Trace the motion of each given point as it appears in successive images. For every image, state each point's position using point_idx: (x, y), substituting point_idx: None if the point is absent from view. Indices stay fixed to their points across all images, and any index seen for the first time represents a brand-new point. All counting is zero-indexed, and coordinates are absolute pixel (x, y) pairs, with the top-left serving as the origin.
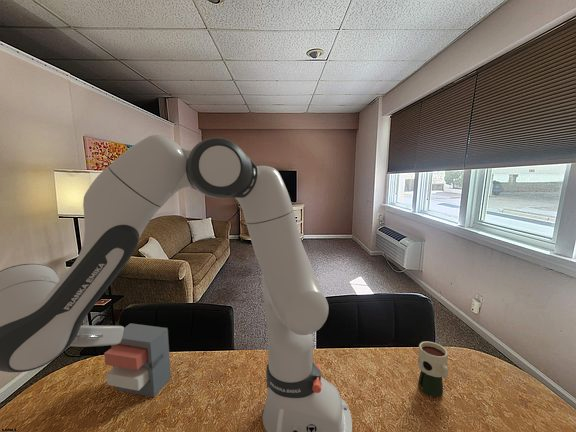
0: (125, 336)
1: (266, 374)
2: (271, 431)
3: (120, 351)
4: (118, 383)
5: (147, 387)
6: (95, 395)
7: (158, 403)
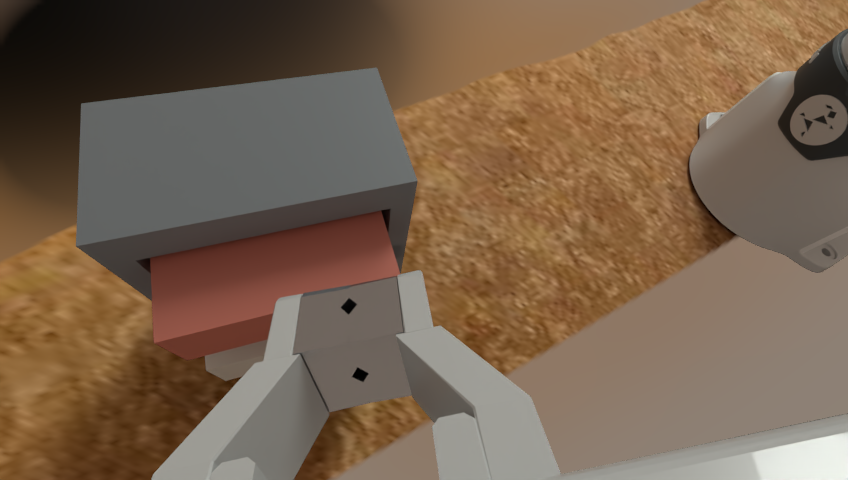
0: (195, 202)
1: (844, 128)
2: (782, 242)
3: (250, 285)
4: None
5: None
6: (161, 405)
7: (431, 312)
